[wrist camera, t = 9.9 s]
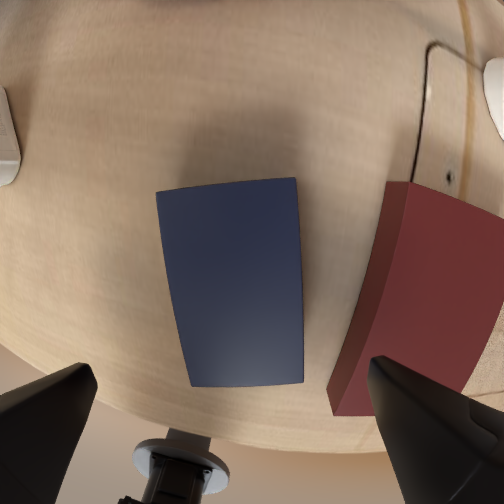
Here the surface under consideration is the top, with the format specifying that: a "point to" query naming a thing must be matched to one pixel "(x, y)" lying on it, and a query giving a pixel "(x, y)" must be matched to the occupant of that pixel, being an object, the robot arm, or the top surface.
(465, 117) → the top surface
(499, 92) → the inkwell
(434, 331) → the burgundy book
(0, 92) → the photo printer
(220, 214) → the navy book
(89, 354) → the top surface
